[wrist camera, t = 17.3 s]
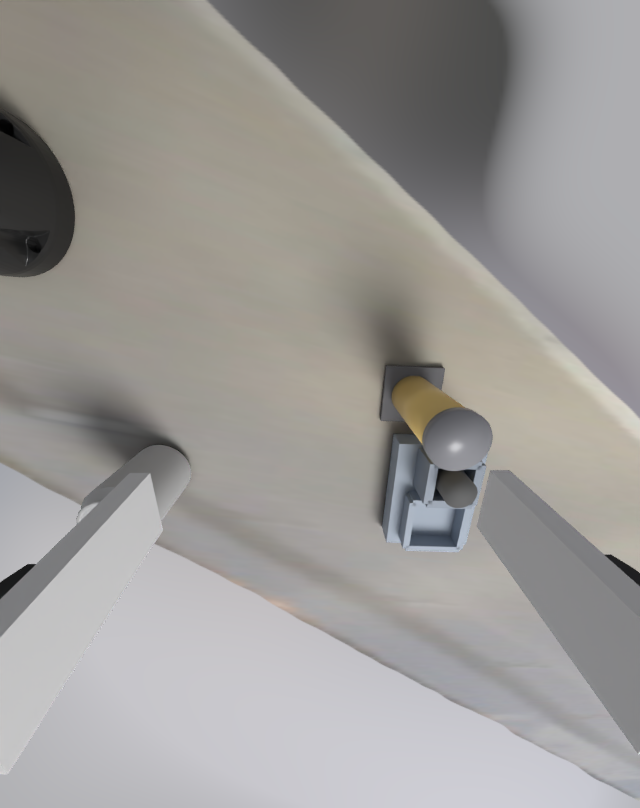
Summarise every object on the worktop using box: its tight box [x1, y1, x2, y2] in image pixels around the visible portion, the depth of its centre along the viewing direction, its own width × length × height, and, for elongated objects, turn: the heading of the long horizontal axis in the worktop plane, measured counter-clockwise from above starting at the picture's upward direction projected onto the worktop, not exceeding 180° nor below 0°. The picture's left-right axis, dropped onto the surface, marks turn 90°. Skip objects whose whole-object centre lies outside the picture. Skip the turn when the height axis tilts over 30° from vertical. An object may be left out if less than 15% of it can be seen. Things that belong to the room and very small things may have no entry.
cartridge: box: [392, 376, 493, 471], centre depth 31 cm, size 5×5×13 cm
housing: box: [382, 434, 488, 552], centre depth 38 cm, size 15×11×7 cm
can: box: [77, 445, 191, 524], centre depth 35 cm, size 8×8×12 cm
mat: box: [380, 365, 445, 422], centre depth 37 cm, size 7×7×1 cm
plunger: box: [435, 469, 478, 508], centre depth 34 cm, size 4×4×5 cm
